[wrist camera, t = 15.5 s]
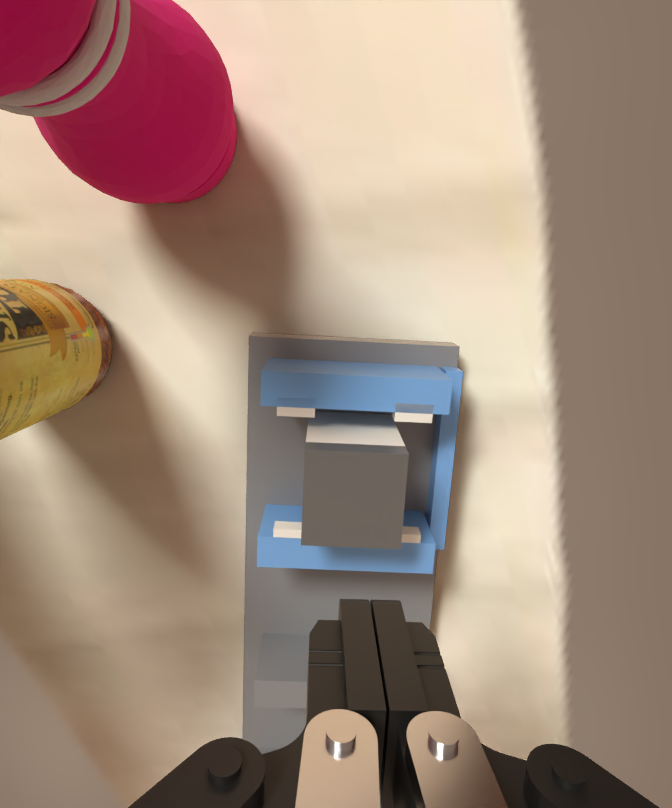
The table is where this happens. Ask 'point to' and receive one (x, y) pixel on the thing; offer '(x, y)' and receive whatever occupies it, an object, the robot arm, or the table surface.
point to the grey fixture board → (283, 496)
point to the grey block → (353, 481)
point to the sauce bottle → (47, 351)
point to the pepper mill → (121, 93)
